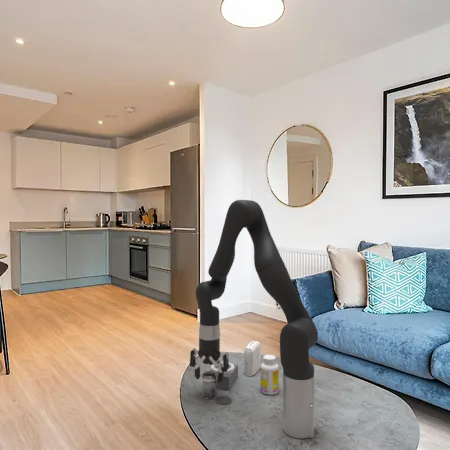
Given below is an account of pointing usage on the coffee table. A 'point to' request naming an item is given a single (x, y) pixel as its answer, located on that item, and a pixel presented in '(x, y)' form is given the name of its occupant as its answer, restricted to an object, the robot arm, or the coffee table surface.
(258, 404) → the coffee table surface
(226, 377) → the camera body
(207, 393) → the lens
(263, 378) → the supplement bottle
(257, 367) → the photo printer
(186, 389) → the coffee table surface
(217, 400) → the lens cap
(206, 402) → the coffee table surface
